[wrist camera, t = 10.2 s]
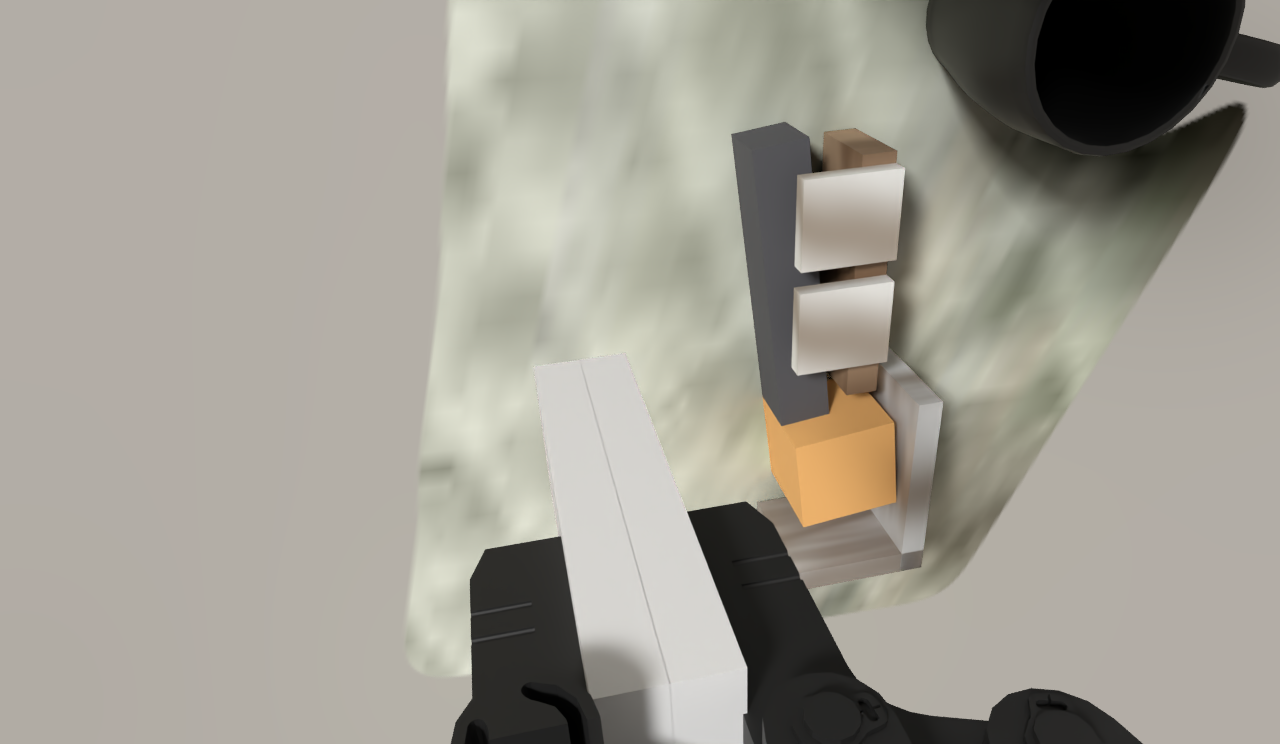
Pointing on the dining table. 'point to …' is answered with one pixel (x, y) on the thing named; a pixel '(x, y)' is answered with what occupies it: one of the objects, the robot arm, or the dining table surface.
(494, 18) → the dining table surface
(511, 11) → the dining table surface
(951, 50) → the mug
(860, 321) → the rail
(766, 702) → the robot arm
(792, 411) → the grey and orange bar
